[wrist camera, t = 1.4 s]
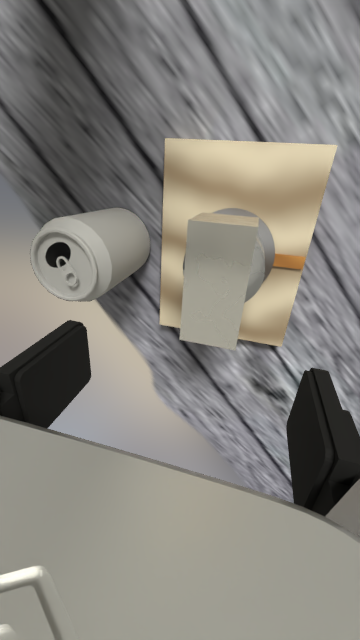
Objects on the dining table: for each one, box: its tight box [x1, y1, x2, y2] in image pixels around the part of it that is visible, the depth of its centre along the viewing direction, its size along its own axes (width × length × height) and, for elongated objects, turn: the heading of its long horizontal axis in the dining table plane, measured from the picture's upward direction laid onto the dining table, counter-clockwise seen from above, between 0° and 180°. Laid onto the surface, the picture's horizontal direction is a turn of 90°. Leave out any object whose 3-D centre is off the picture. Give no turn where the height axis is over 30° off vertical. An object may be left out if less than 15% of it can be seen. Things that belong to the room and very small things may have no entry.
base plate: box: [160, 138, 337, 347], centre depth 29 cm, size 20×15×2 cm
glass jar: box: [180, 212, 265, 350], centre depth 24 cm, size 10×7×10 cm
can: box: [30, 208, 150, 301], centre depth 28 cm, size 8×8×12 cm
